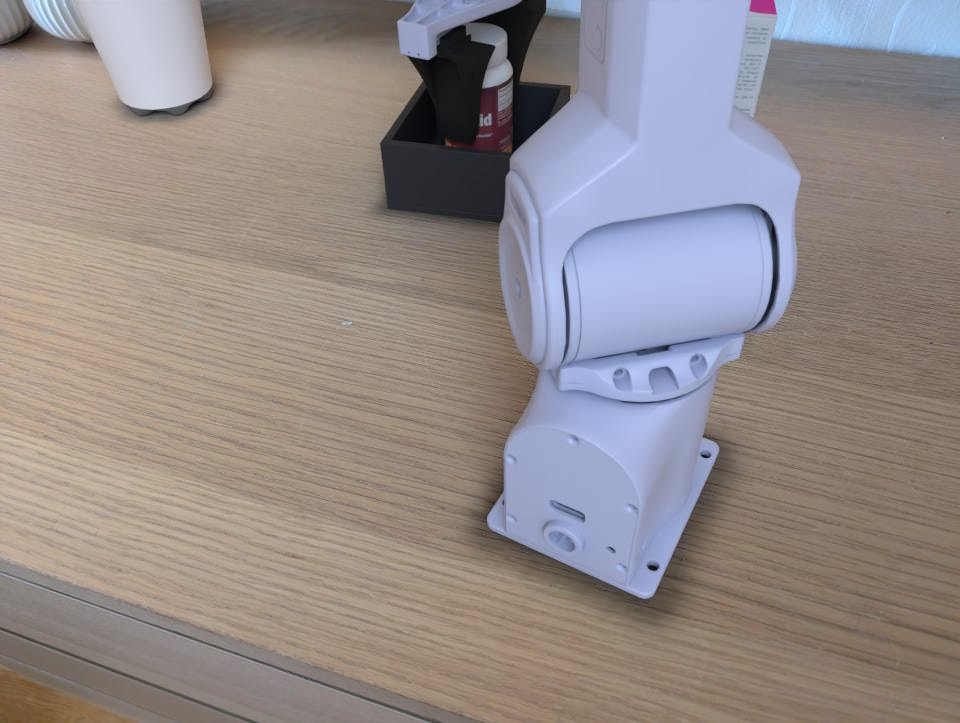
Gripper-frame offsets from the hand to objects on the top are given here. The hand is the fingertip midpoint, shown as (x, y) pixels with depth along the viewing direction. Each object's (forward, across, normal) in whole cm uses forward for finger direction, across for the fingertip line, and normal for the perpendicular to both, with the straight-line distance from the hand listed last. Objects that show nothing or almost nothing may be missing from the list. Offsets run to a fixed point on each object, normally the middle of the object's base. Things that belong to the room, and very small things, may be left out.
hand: (480, 121), depth 56 cm
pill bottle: (+3, 0, 0) cm, 3 cm away
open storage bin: (+4, 0, 0) cm, 4 cm away
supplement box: (+4, -10, +13) cm, 17 cm away
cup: (+4, +1, -30) cm, 30 cm away
